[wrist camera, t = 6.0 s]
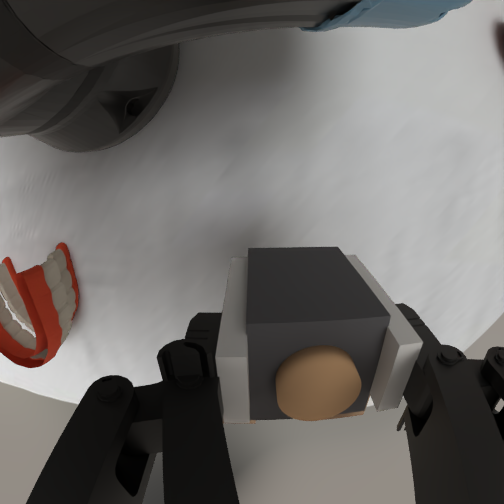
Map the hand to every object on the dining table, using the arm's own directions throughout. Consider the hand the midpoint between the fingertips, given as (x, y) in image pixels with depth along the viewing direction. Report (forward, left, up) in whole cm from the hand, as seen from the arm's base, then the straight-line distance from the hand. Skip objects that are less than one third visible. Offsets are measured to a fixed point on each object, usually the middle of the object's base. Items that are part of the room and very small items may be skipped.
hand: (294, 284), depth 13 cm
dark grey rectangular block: (0, 0, 0) cm, 1 cm away
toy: (-25, -8, -13) cm, 29 cm away
